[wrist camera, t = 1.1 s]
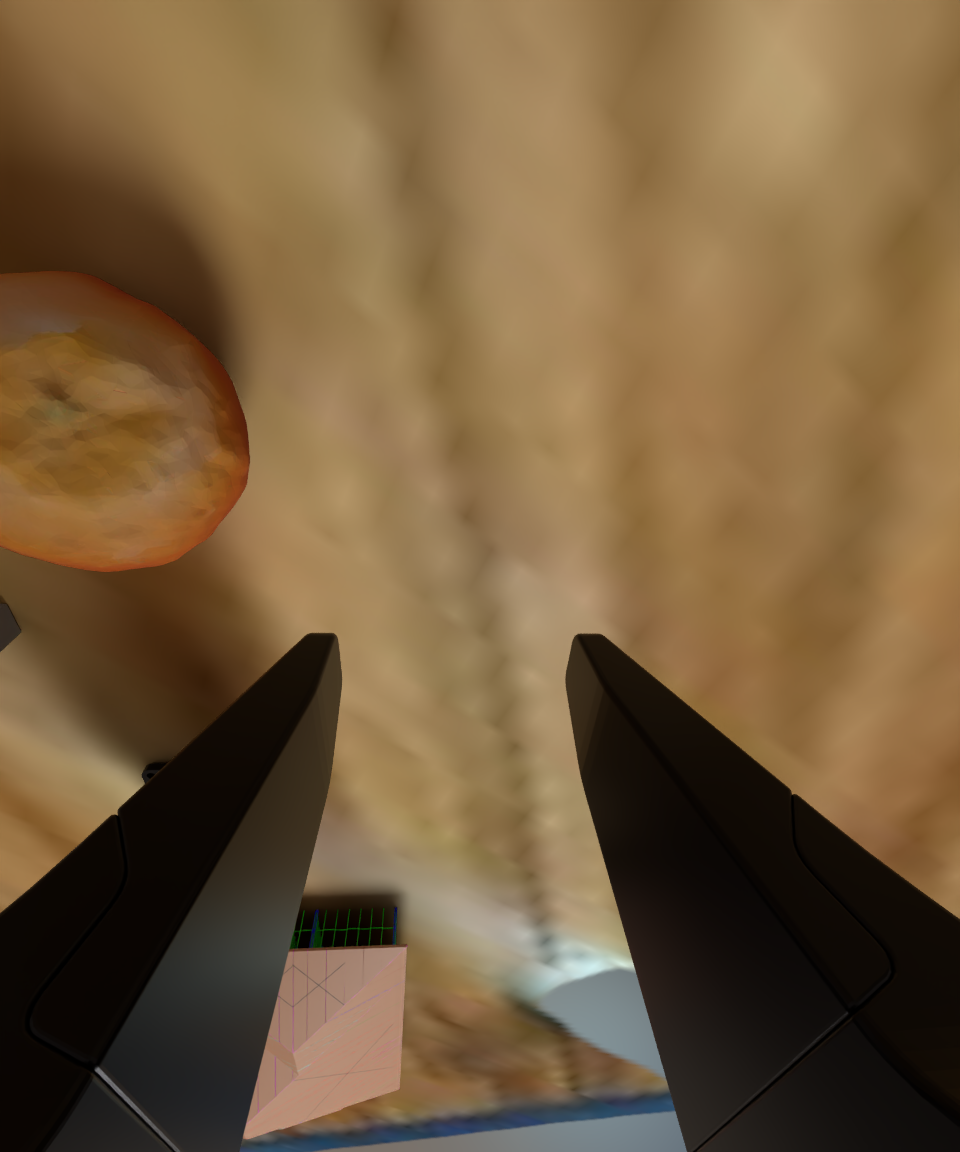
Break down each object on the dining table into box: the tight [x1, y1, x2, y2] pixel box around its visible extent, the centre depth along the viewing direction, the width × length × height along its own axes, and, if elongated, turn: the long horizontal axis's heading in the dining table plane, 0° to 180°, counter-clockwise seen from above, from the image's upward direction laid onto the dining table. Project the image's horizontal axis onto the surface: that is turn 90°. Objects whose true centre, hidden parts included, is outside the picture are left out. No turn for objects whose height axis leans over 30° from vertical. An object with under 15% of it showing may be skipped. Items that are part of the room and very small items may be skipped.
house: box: [243, 907, 407, 1139], centre depth 42 cm, size 23×33×8 cm
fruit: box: [0, 271, 250, 572], centre depth 16 cm, size 8×8×8 cm
